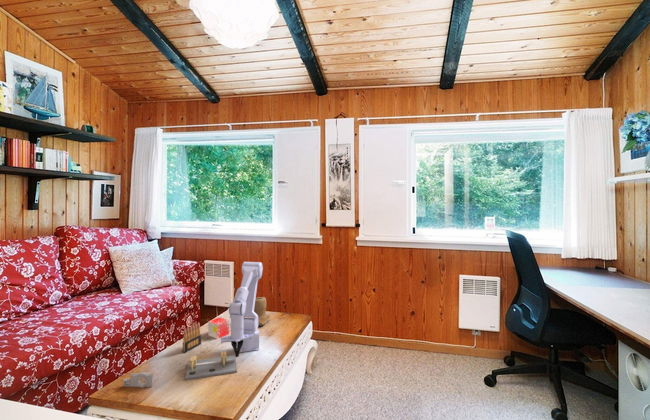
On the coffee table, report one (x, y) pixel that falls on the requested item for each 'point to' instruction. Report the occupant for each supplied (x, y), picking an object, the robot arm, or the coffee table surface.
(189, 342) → the ammunition clip
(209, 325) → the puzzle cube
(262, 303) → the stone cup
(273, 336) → the coffee table surface
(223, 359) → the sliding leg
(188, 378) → the pitch plate
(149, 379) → the garden wall model
